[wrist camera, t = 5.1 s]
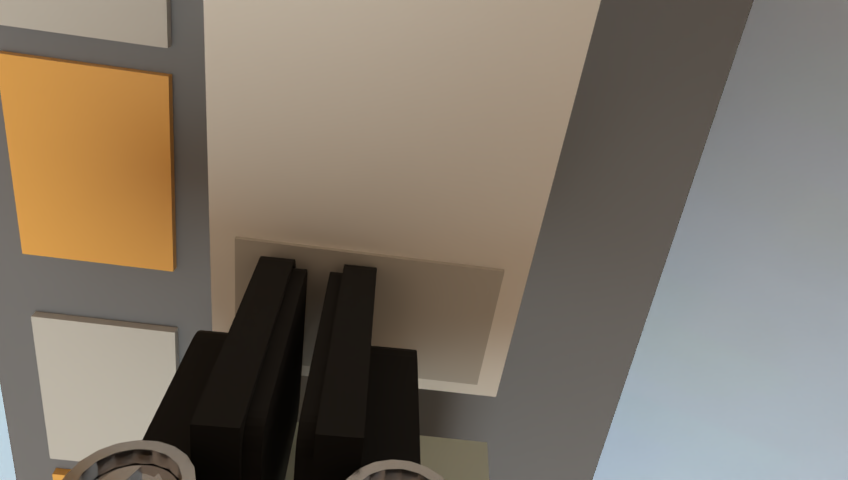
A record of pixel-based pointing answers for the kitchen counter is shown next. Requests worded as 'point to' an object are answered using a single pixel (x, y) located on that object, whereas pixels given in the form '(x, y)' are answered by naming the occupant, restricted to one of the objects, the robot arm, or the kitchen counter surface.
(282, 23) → the rocker offwhite
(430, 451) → the block
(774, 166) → the kitchen counter surface
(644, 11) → the switch unit
